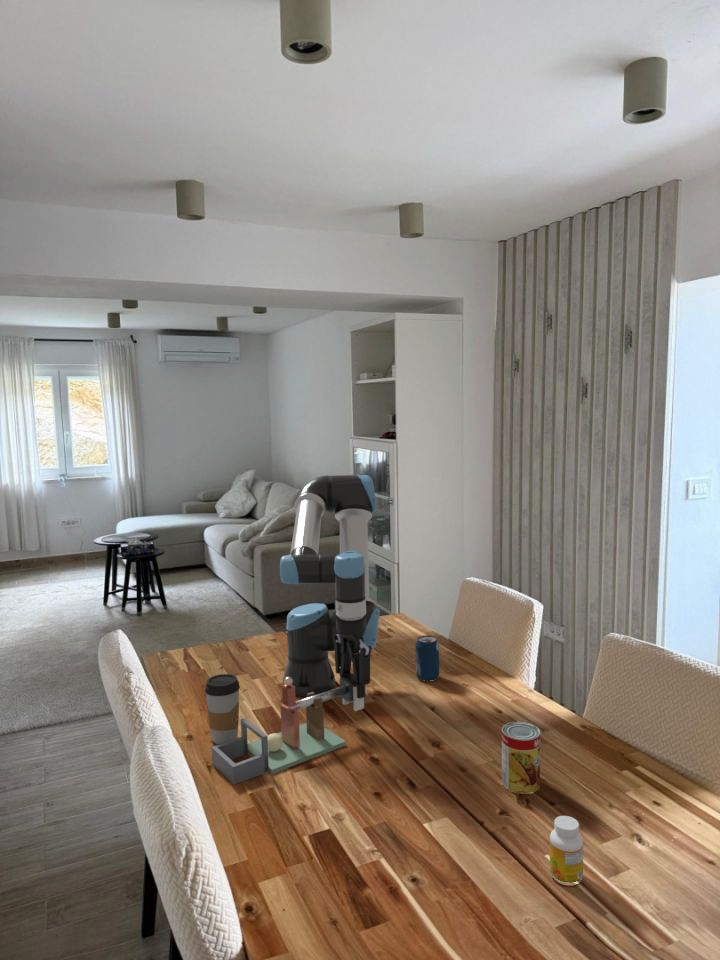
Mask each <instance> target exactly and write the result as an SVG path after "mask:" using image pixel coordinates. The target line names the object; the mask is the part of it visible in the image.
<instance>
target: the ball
mask: <svg viewBox="0 0 720 960" xmlns="http://www.w3.org/2000/svg"><path fill="white" fill-rule="evenodd" d="M267 738H268V750H269V751H271V752H276V751H278V750H279V749H280V748H281V746H282V738H281V736H280V735H278V734H276V733H270V734H269V735H267Z"/></svg>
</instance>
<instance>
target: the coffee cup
mask: <svg viewBox="0 0 720 960" xmlns="http://www.w3.org/2000/svg"><path fill="white" fill-rule="evenodd" d="M240 686H241V685H240V681H239V680H238V677H237V676H236V675H234V674H232V673H231V674H229V673H224V674H223V673H222V674H217V675H213V676H211V677H209V678H208V679H207V680H206V684H205V686H204V687H205V688H204V693H205V694H206V695H205V696H206V706H207V708H206V709H207V714H208V716H207V717H208V723H209V728H210V729H209V730H210V737H211V740H212V742H213V743H214V744H216V745H219V744H222V743H225V742H228V741H231V740H234V739H237V738H238V736H239V724H240V723H239V720H240V719H239V718H240V714H239V713H240V702H239V701H240V700H239V699H240V696H239V695H240V693H239V692H240V688H241V687H240Z"/></svg>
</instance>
